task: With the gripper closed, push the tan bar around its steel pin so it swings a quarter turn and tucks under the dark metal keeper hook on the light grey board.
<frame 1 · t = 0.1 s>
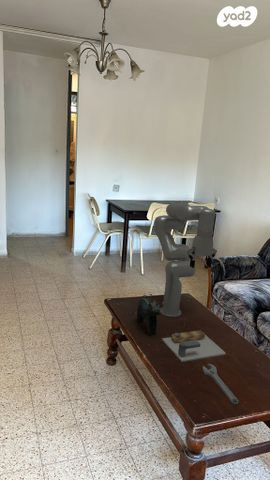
hand: (200, 266, 182), 37 cm above the table, tool pointing down, fingers open, 9 cm apart
ceramic cat: (145, 328, 192), on the table
adjustable wrench: (218, 385, 150), on the table
mounting board: (193, 347, 177), on the table
tan bar: (188, 335, 181), point 3 cm above the table, hinge at 90.0°
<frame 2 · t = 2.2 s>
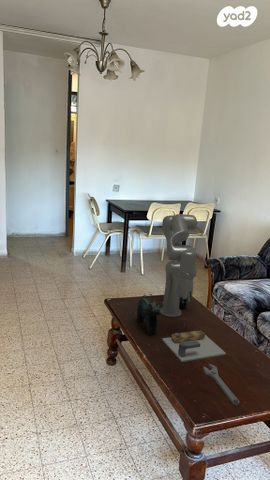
hand: (182, 309, 184), 14 cm above the table, tool pointing down, fingers closed
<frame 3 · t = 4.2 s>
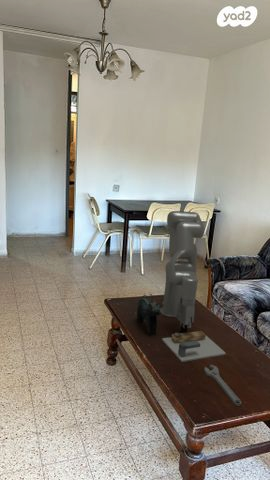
hand: (183, 333, 184), 2 cm above the table, tool pointing down, fingers closed
tan bar: (188, 335, 181), point 3 cm above the table, hinge at 87.2°, touching gripper
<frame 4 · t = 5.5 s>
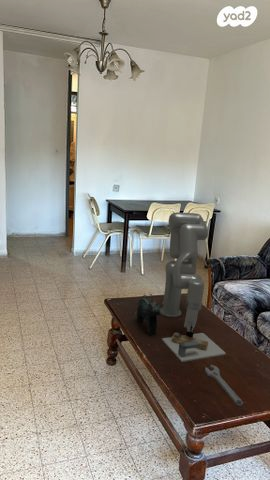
hand: (189, 337, 181), 2 cm above the table, tool pointing down, fingers closed
tan bar: (189, 340, 177), point 3 cm above the table, hinge at 46.1°, touching gripper
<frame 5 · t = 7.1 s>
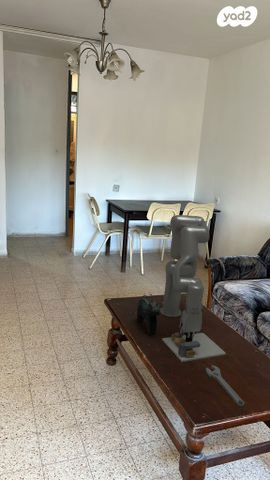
hand: (188, 343, 176), 2 cm above the table, tool pointing down, fingers closed
tan bar: (182, 343, 173), point 3 cm above the table, hinge at -4.2°, touching gripper, mounting board
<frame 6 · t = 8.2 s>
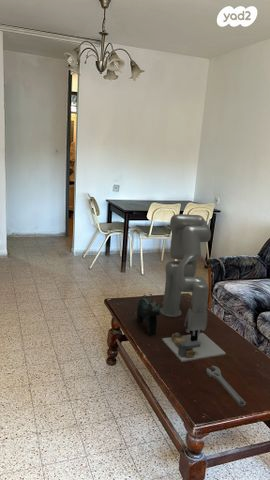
hand: (193, 341, 178), 2 cm above the table, tool pointing down, fingers closed
tan bar: (182, 343, 173), point 3 cm above the table, hinge at -4.2°
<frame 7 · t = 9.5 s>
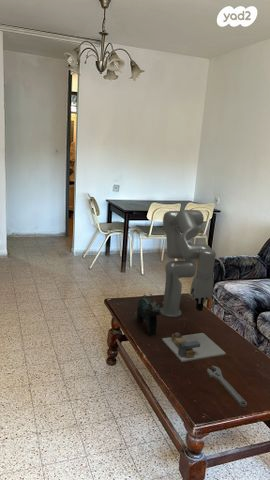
hand: (199, 309, 177), 18 cm above the table, tool pointing down, fingers closed
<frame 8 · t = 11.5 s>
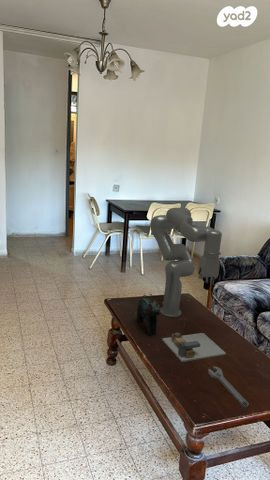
hand: (206, 289, 185), 25 cm above the table, tool pointing down, fingers closed
at the end: tan bar at -4° (first picture: +90°) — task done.
